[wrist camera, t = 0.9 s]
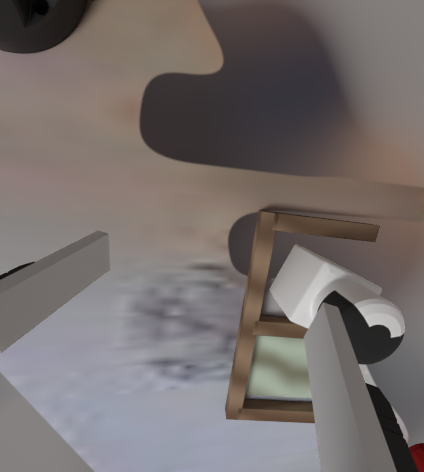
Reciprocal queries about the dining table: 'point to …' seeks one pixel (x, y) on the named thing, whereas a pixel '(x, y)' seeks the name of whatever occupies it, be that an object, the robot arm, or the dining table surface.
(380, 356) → the medicine bottle
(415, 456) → the plastic cup
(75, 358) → the dining table surface
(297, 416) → the wooden tray frame
